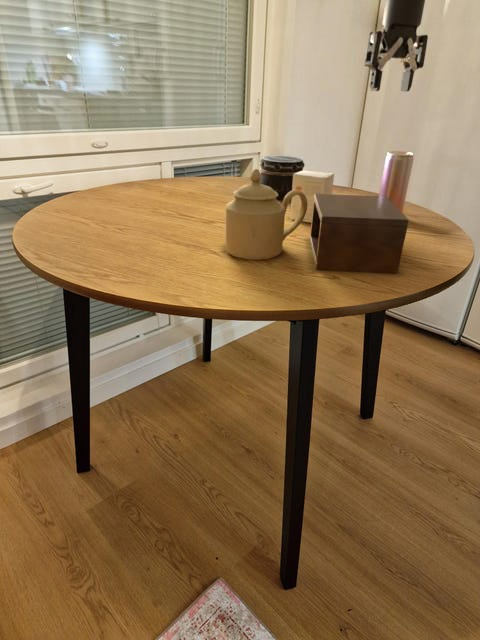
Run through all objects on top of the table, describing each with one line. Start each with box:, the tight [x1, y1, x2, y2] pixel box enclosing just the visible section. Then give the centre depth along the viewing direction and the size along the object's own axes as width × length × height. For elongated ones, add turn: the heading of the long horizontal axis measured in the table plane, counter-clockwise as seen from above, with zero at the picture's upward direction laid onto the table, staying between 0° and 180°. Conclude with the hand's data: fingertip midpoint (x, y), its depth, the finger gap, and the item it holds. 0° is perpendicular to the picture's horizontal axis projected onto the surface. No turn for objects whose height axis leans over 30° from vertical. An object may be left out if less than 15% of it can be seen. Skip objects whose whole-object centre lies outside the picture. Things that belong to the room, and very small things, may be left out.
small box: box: [290, 169, 335, 223], centre depth 98 cm, size 8×6×10 cm
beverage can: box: [378, 150, 415, 213], centre depth 99 cm, size 6×6×15 cm
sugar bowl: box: [224, 168, 307, 261], centre depth 79 cm, size 15×11×15 cm
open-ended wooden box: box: [309, 194, 410, 274], centre depth 78 cm, size 14×16×9 cm
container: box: [258, 155, 305, 200], centre depth 120 cm, size 13×13×10 cm
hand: (390, 91), depth 92 cm, fingers open, 8 cm apart
